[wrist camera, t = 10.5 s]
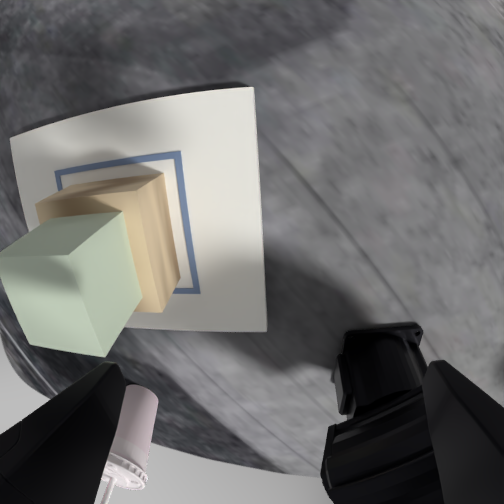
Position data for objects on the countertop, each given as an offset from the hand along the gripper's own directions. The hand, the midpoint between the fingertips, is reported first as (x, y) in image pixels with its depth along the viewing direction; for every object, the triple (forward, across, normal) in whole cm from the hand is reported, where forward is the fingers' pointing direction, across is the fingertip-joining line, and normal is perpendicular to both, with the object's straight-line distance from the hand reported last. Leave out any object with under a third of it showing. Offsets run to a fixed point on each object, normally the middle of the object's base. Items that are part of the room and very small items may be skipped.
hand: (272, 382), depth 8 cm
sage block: (+8, +10, 0) cm, 13 cm away
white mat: (+13, +10, 0) cm, 16 cm away
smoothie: (+13, +14, +18) cm, 26 cm away
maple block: (+12, +10, 0) cm, 16 cm away
